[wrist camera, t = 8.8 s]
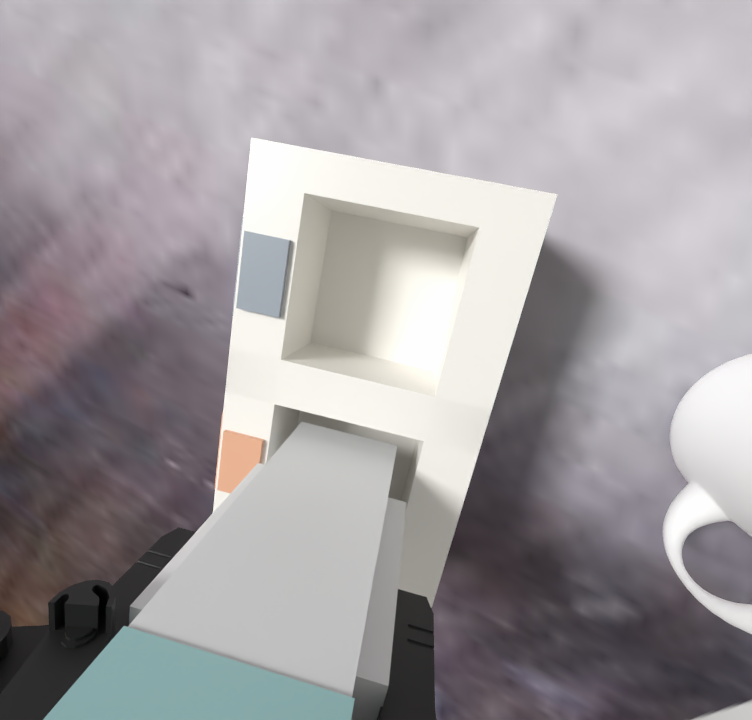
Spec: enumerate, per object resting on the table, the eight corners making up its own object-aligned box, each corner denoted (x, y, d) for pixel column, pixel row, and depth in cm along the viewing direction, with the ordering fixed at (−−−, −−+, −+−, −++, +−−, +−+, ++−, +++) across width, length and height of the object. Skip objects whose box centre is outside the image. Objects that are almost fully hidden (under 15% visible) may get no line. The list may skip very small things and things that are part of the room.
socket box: (299, 177, 19) (241, 134, 13) (516, 219, 18) (559, 193, 12) (258, 476, 24) (201, 545, 18) (430, 522, 23) (431, 611, 17)
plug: (300, 420, 17) (24, 740, 5) (398, 444, 17) (328, 847, 5) (287, 505, 18) (36, 917, 7) (378, 530, 18) (283, 1015, 6)
